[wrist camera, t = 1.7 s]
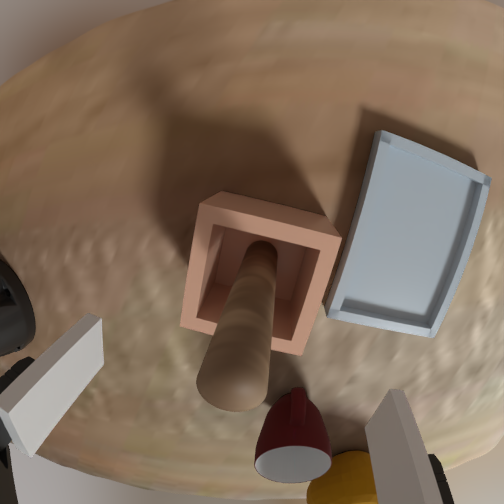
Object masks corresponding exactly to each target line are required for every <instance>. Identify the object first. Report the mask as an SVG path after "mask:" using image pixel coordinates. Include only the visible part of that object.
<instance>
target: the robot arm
mask: <svg viewBox="0 0 504 504" xmlns="http://www.w3.org/2000/svg"><path fill="white" fill-rule="evenodd" d="M34 335H35V318H34V313H33V309H32V306H31V303H30V300H29V298H28V296H27V293H26V291H25V289H24V287H23V286H22V284H21V282H20V281H19V279H18V278H17V276H16V275H15V274H14V272H13V271H12V270H11V269H10V268H9V267H8V266H7V265H6V264H5V263H4V262H2V261H1V260H0V357H1V356H4V355H7V354H10V353H13V352H17V351H20V350H22V349H23V348H25V347H26V346H27V345H28V344H29V343H30V342H31V341H32V340H33V338H34ZM103 365H104V358H103V341H102V318H100V317H97V316H95V315H92V314H90V313H87V314H86V315H85V316H84V317H83V318H81V319H80V320H79V321H78V322H77V323H76V324H75V325H74V326H72V327H71V328H70V329H69V330H68V331H67V332H66V333H65V334H63V335H62V336H61V337H60V338H59V339H58V340H57V341H56V342H55V343H54V344H52V345H51V346H50V347H49V348H48V349H47V350H46V351H45V352H44V353H43V354H42V355H41V356H39V357H38V358H37V359H36V360H34V359H33V358H31V357H26V358H24V359H22V360H19V361H18V362H17V363H16V364H14V365H13V366H12V367H11V369H10V370H8V371H7V372H6V373H5V375H3V376H1V377H0V504H18V500H17V495H16V490H15V484H14V478H13V472H12V466H11V457H10V449H9V446H8V444H9V443H10V441H11V440H12V441H13V443H14V445H15V447H16V448H17V449H18V450H20V451H21V452H23V453H24V454H26V455H27V456H28V457H30V458H32V456H33V455H34V454H35V452H36V451H37V449H38V448H39V447H40V445H41V444H42V443H43V441H44V440H45V439H46V437H47V436H48V435H49V433H50V432H51V431H52V429H53V428H54V427H55V425H56V424H57V423H58V422H59V420H60V419H61V418H62V416H63V415H64V414H65V412H66V411H67V410H68V409H69V407H70V406H71V405H72V403H73V402H74V401H75V400H76V398H77V397H78V396H79V395H80V393H81V392H82V391H83V390H84V388H85V387H86V386H87V385H88V383H89V382H90V381H91V380H92V378H93V377H94V376H95V375H96V373H97V372H98V371H99V370H100V368H101V367H102V366H103ZM365 433H366V438H367V443H368V448H369V453H370V458H371V463H372V469H373V474H374V480H375V486H376V492H377V498H378V504H454V501H453V498H452V495H451V492H450V488H449V485H448V482H446V480H447V479H446V477H445V474H444V471H443V468H442V465H441V462H440V461H439V460H438V459H437V457H436V456H435V455H434V454H427V451H426V449H425V446H424V443H423V440H422V437H421V434H420V432H419V429H418V426H417V424H416V421H415V418H414V416H413V413H412V410H411V408H410V405H409V403H408V400H407V398H406V395H405V393H404V390H397V389H389V391H388V392H387V394H386V396H385V397H384V399H383V400H382V402H381V404H380V405H379V407H378V408H377V410H376V411H375V413H374V414H373V416H372V417H371V419H370V420H369V422H368V423H367V425H366V426H365Z"/></svg>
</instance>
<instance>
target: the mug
mask: <svg viewBox="0 0 504 504" xmlns="http://www.w3.org/2000/svg"><path fill="white" fill-rule="evenodd" d="M254 465H255V469H256V471H257V472H258V473H259V474H260V475H261V476H263V477H265V478H267V479H269V480H272V481H275V482H281V483H301V482H307V481H310V480H313V479H316V478H318V477H320V476H322V475H324V474H325V473H326V472H327V471H328V470H329V469H330V467H331V465H332V452H331V444H330V440H329V436H328V434H327V431H326V428H325V425H324V422H323V419H322V417H321V414H320V412H319V410H318V409H317V407H316V406H315V405H314V404H313V403H312V402H311V401H310V400H309V399H308V398H307V397H306V392H305V389H304V388H300V387H295V388H293V389H292V390H291V393H290V394H287V395H284V396H283V397H281V398H280V399H279V400H278V401H277V402H276V403H275V404H274V405H273V406H272V407H271V409H270V410H269V412H268V414H267V416H266V419H265V421H264V424H263V427H262V430H261V433H260V436H259V438H258V442H257V445H256V452H255V462H254Z"/></svg>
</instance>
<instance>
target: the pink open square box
mask: <svg viewBox="0 0 504 504" xmlns="http://www.w3.org/2000/svg"><path fill="white" fill-rule="evenodd" d="M260 240H263V241H267V242H269V243H271V244H272V245H273V246H274V247H275V248H276V250H277V254H278V258H277V273H276V288H275V302H274V316H273V329H272V342H271V350H275V351H280V352H285V353H290V354H294V355H299V356H302V353H303V351H304V348H305V345H306V343H307V340H308V337H309V335H310V332H311V329H312V327H313V324H314V321H315V318H316V316H317V313H318V310H319V307H320V304H321V301H322V299H323V296H324V293H325V290H326V287H327V284H328V281H329V278H330V275H331V272H332V269H333V266H334V262H335V259H336V256H337V253H338V250H339V246H340V243H341V240H342V237H341V236H340V234H339V233H338V232H337V230H336V229H335V227H334V226H333V225H332V223H331V222H330V220H329V219H328V218H327V216H324V215H320V214H316V213H312V212H308V211H305V210H301V209H297V208H293V207H289V206H285V205H281V204H277V203H273V202H268V201H264V200H260V199H256V198H252V197H247V196H243V195H239V194H234V193H230V192H225V191H220V192H219V193H217V194H215V195H213V196H211V197H210V198H208V199H206V200H204V201H202V202H201V203H199V209H198V214H197V220H196V225H195V231H194V237H193V242H192V248H191V254H190V261H189V267H188V273H187V280H186V286H185V293H184V300H183V307H182V315H181V322H180V326H181V327H184V328H188V329H191V330H195V331H199V332H202V333H206V334H210V335H213V334H214V332H215V329H216V327H217V324H218V322H219V319H220V316H221V314H222V311H223V309H224V306H225V304H226V301H227V299H228V296H229V293H230V291H231V288H232V286H233V283H234V281H235V278H236V276H237V273H238V270H239V268H240V265H241V263H242V260H243V258H244V255H245V253H246V250H247V248H248V247H249V245H250V244H252V243H253V242H255V241H260Z"/></svg>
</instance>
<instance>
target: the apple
mask: <svg viewBox="0 0 504 504" xmlns="http://www.w3.org/2000/svg"><path fill="white" fill-rule="evenodd" d="M307 504H378V498H377V492H376V486H375V480H374V474H373V469H372V463H371V458H370V454H369V453H367V452H363V451H359V450H358V451H348V452H344V453H342V454H339V455H336V456H334V457H333V458H332V465H331V467H330V469H329V470H328V471H327V472H326V473H325V474H324V475H322V476H320V477H318V478H316V479H313V480H312V481H311V483H310V485H309V487H308V489H307Z"/></svg>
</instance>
